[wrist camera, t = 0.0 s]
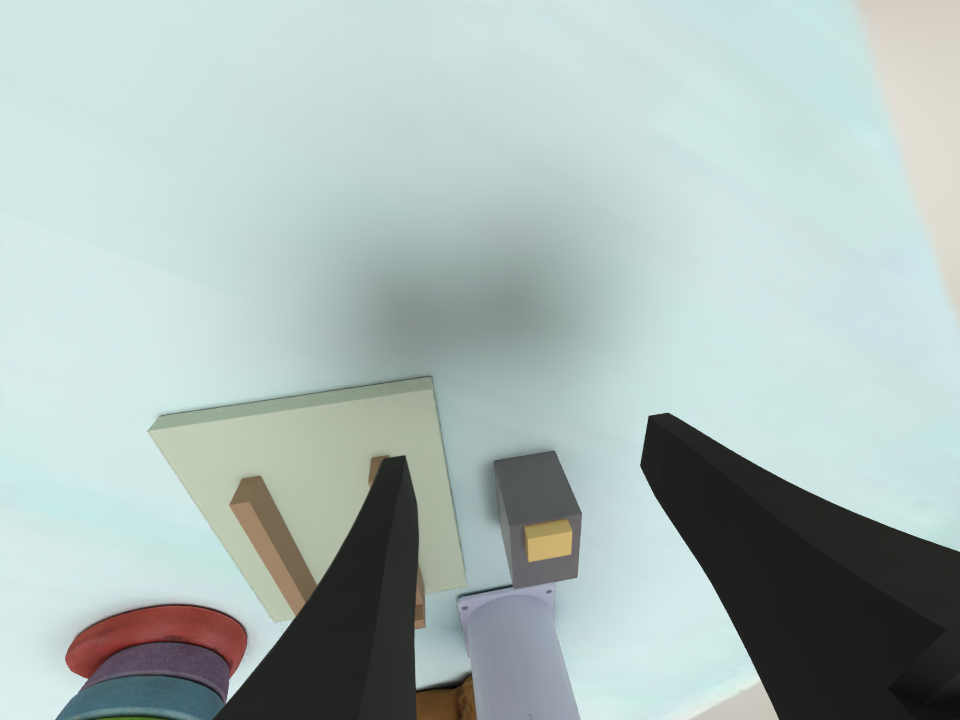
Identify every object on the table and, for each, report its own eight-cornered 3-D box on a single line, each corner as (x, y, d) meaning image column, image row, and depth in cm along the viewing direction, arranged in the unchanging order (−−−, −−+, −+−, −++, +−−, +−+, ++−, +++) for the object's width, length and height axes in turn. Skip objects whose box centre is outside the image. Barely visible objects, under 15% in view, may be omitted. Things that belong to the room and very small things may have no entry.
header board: (464, 571, 31) (474, 655, 26) (279, 605, 30) (251, 701, 25) (431, 376, 22) (436, 450, 17) (160, 416, 21) (79, 507, 16)
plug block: (553, 511, 29) (581, 590, 24) (499, 520, 29) (516, 602, 24) (554, 449, 26) (587, 526, 21) (493, 459, 26) (512, 539, 21)
